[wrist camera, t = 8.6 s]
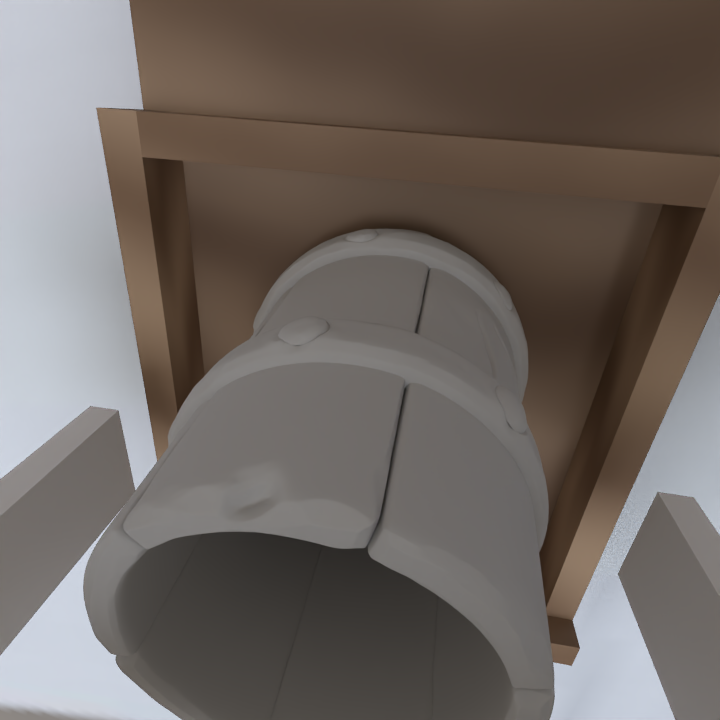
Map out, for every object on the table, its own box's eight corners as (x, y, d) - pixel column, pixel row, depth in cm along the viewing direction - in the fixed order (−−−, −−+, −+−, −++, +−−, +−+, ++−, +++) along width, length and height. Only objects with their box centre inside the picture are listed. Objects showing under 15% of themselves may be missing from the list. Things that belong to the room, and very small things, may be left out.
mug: (503, 183, 12) (802, 766, 2) (543, 515, 17) (673, 1158, 7) (239, 246, 14) (-365, 665, 4) (346, 524, 19) (217, 1021, 9)
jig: (128, -295, 10) (-64, -553, 6) (864, -306, 9) (1212, -657, 5) (213, 501, 22) (162, 586, 18) (545, 557, 20) (571, 665, 16)
